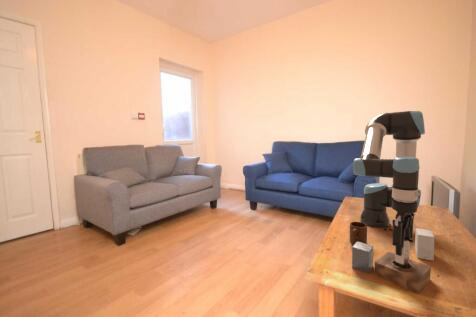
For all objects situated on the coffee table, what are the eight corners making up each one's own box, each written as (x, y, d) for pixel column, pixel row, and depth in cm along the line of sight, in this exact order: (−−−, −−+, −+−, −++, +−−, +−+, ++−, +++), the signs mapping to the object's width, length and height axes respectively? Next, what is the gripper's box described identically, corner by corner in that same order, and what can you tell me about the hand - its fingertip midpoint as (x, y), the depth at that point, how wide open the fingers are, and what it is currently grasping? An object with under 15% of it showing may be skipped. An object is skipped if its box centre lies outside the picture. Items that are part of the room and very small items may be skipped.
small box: (433, 261, 95) (435, 237, 94) (416, 258, 98) (417, 234, 97) (430, 252, 102) (431, 230, 101) (414, 249, 105) (415, 227, 104)
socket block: (374, 274, 89) (374, 261, 88) (387, 262, 96) (388, 251, 95) (418, 293, 77) (418, 279, 77) (430, 279, 84) (430, 266, 84)
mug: (362, 251, 105) (362, 232, 104) (344, 246, 110) (345, 228, 109) (368, 241, 114) (368, 223, 113) (352, 237, 119) (352, 220, 118)
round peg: (393, 270, 87) (394, 239, 85) (397, 266, 89) (398, 236, 88) (405, 275, 83) (406, 243, 82) (409, 271, 86) (411, 240, 84)
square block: (352, 267, 93) (352, 246, 92) (356, 261, 98) (357, 241, 97) (368, 273, 89) (368, 251, 88) (372, 266, 93) (373, 246, 92)
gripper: (407, 207, 75) (404, 273, 78) (425, 197, 85) (422, 256, 88) (382, 202, 81) (380, 264, 84) (402, 193, 91) (399, 248, 94)
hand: (402, 260), depth 86 cm, fingers open, 4 cm apart
